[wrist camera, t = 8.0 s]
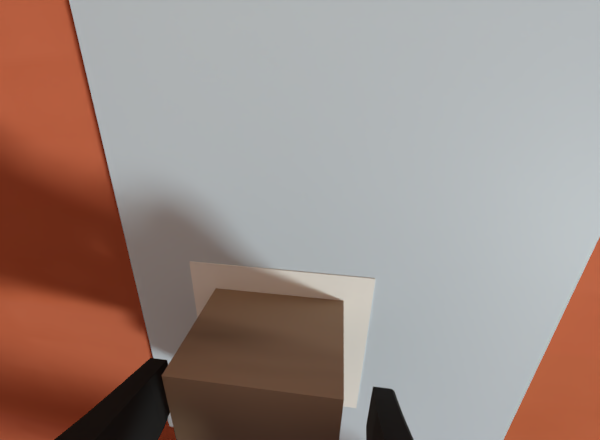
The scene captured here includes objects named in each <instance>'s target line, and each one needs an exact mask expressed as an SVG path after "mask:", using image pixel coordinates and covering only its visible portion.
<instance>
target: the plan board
mask: <svg viewBox="0 0 600 440" xmlns="http://www.w3.org/2000/svg"><path fill="white" fill-rule="evenodd" d="M69 3H70V7H71V11H72V15H73V20H74V24H75V28H76V32H77V37H78V41H79V45H80V49H81V54H82V58H83V62H84V66H85V71H86V75H87V79H88V83H89V87H90V92H91V96H92V100H93V104H94V109H95V113H96V117H97V121H98V126H99V130H100V134H101V138H102V143H103V147H104V151H105V155H106V160H107V164H108V168H109V172H110V177H111V181H112V185H113V189H114V194H115V198H116V202H117V206H118V210H119V215H120V219H121V223H122V227H123V232H124V236H125V240H126V244H127V249H128V253H129V257H130V261H131V266H132V270H133V274H134V278H135V283H136V287H137V291H138V295H139V300H140V304H141V308H142V312H143V317H144V321H145V325H146V329H147V334H148V338H149V342H150V346H151V350H152V355H153V358H155V359H163V360H167V362H168V364H169V363H170V361H171V360H172V358H173V356H174V355H175V353H176V352H177V350H178V348H179V347H180V345H181V344H182V342H183V340H184V339H185V337H186V335H187V334H188V332H189V331H190V329H191V327H192V326H193V324H194V323H195V321H196V319H197V318H198V316H199V315H200V313H201V311H202V310H203V308H204V306H205V305H206V303H207V302H208V300H209V298H210V297H211V295H212V294H213V292H214V290H215V289H216V288H218V289H229V290H239V291H249V292H260V293H270V294H280V295H291V296H301V297H311V298H322V299H332V300H342V301H344V403H343V411H342V420H341V429H340V437H339V440H366V424H367V418H368V412H369V406H370V401H371V395H372V389H373V387H381V388H389V389H392V390H393V391H394V392H395V394H396V397H397V400H398V403H399V405H400V408H401V411H402V413H403V416H404V418H405V421H406V423H407V425H408V428H409V430H410V432H411V435H412V437H413V439H414V440H503V439H504V437H505V435H506V433H507V431H508V429H509V427H510V425H511V423H512V420H513V418H514V416H515V414H516V412H517V410H518V408H519V406H520V404H521V401H522V399H523V397H524V395H525V393H526V391H527V389H528V387H529V385H530V382H531V380H532V378H533V376H534V374H535V372H536V370H537V368H538V366H539V363H540V361H541V359H542V357H543V355H544V353H545V351H546V349H547V347H548V344H549V342H550V340H551V338H552V336H553V334H554V332H555V330H556V328H557V325H558V323H559V321H560V319H561V317H562V315H563V313H564V311H565V309H566V306H567V304H568V302H569V300H570V298H571V296H572V294H573V292H574V290H575V287H576V285H577V283H578V281H579V279H580V277H581V275H582V273H583V271H584V269H585V266H586V264H587V262H588V260H589V258H590V256H591V254H592V252H593V250H594V247H595V245H596V243H597V241H598V239H599V237H600V0H69ZM168 423H169V426H171V427H173V423H172V419H171V414H169V416H168Z"/></svg>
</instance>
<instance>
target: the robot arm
mask: <svg viewBox="0 0 600 440" xmlns="http://www.w3.org/2000/svg"><path fill="white" fill-rule="evenodd" d="M167 366H168V362H167V360H163V359H155V358H150V359H149V360H148V361H147V362H146V363H145V364H143V365H142V366H141V367H140V368H139V369H138V370H137V371H135V372H134V373H133V374H132V375H131V376H130V377H129V378H127V379H126V380H125V381H124V382H123V383H122V384H121V385H119V386H118V387H117V388H116V389H115V390H114V391H113V392H111V393H110V394H109V395H108V396H107V397H106V398H104V399H103V400H102V401H101V402H100V403H99V404H97V405H96V406H95V407H94V408H93V409H92V410H90V411H89V412H88V413H87V414H86V415H84V416H83V417H82V418H81V419H80V420H78V421H77V422H76V423H75V424H73V425H72V426H71V427H70V428H68V429H67V430H66V431H65V432H63V433H62V434H61V435H60V436H58V437H57V438H56V439H55V440H158V438H159V436H160V434H161V433H162V430H163V428H164V426H165V423H166V421H167V419H168V416H169V414H170V410H169V406H168V402H167V397H166V393H165V389H164V384H163V380H162V374H163V373H164V371H165V369H166V368H167ZM366 440H414V439H413V437H412V435H411V432H410V430H409V428H408V425H407V423H406V421H405V418H404V416H403V413H402V411H401V408H400V405H399V403H398V400H397V397H396V394H395V392H394V391H393V390H392V389H389V388H381V387H373V389H372V395H371V401H370V406H369V412H368V418H367V424H366Z"/></svg>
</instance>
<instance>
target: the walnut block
mask: <svg viewBox="0 0 600 440" xmlns="http://www.w3.org/2000/svg"><path fill="white" fill-rule="evenodd" d="M162 380H163V384H164V389H165V393H166V397H167V402H168V406H169V410H170V414H171V419H172V423H173V427H174V432H175V436H176V440H339V437H340V429H341V420H342V411H343V403H344V301H342V300H332V299H322V298H311V297H301V296H291V295H280V294H270V293H260V292H249V291H239V290H229V289H218V288H216V289H215V290H214V292H213V294H212V295H211V297H210V298H209V300H208V302H207V303H206V305H205V306H204V308H203V310H202V311H201V313H200V315H199V316H198V318H197V319H196V321H195V323H194V324H193V326H192V327H191V329H190V331H189V332H188V334H187V335H186V337H185V339H184V340H183V342H182V344H181V345H180V347H179V348H178V350H177V352H176V353H175V355H174V356H173V358H172V360H171V361H170V363H169V364H168V366H167V368H166V369H165V371H164V373H163V374H162Z"/></svg>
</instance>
